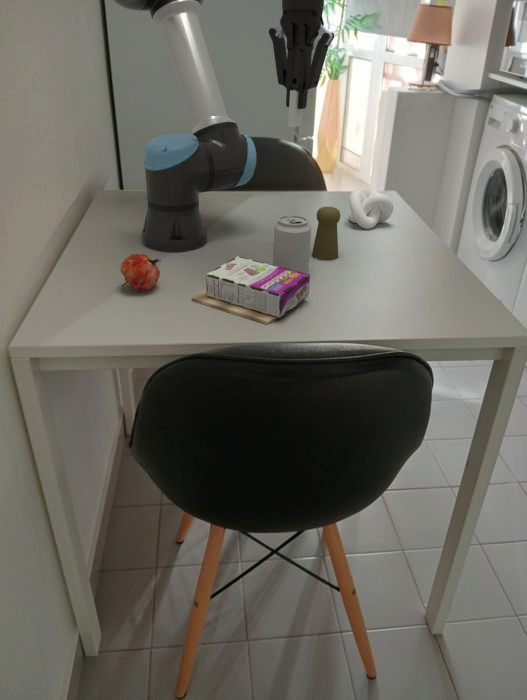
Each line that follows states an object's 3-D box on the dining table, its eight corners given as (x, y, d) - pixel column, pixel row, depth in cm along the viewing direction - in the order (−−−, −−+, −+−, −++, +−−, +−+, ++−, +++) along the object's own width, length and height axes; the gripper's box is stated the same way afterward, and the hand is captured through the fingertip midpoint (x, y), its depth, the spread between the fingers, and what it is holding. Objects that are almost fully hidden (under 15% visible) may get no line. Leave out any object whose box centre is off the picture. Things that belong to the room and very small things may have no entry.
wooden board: (191, 300, 115) (191, 297, 115) (236, 275, 126) (236, 272, 126) (267, 324, 107) (267, 321, 107) (308, 295, 119) (308, 293, 118)
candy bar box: (309, 298, 116) (238, 277, 124) (311, 274, 114) (238, 254, 121) (279, 320, 108) (205, 296, 115) (280, 295, 106) (204, 272, 113)
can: (283, 283, 124) (286, 226, 118) (266, 270, 129) (268, 215, 123) (314, 277, 127) (319, 221, 121) (296, 265, 132) (299, 211, 126)
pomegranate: (121, 305, 117) (157, 282, 113) (100, 273, 116) (136, 248, 112) (141, 295, 124) (176, 272, 119) (122, 264, 123) (156, 240, 118)
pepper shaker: (337, 261, 135) (341, 213, 129) (310, 258, 136) (313, 210, 130) (339, 252, 140) (344, 205, 135) (313, 249, 141) (317, 202, 135)
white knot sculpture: (372, 235, 151) (377, 200, 146) (332, 224, 158) (335, 190, 153) (395, 225, 159) (400, 191, 154) (356, 215, 165) (360, 182, 161)
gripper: (261, -17, 108) (256, 123, 120) (326, -14, 102) (314, 133, 114) (284, -15, 113) (277, 118, 125) (346, -12, 107) (333, 128, 119)
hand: (294, 125), depth 119 cm, fingers closed
